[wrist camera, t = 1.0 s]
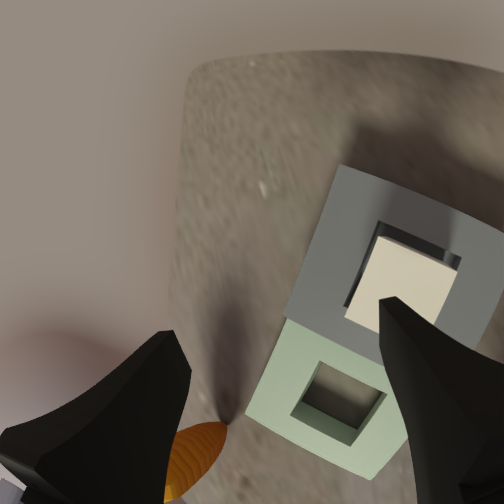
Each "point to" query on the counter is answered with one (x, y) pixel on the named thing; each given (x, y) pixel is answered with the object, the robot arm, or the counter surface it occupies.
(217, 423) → the carrot
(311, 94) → the counter surface
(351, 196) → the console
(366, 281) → the peg
